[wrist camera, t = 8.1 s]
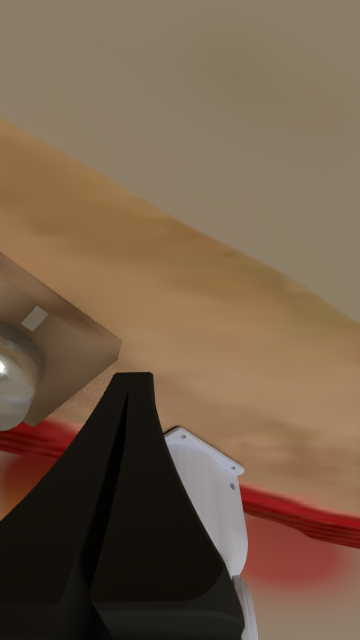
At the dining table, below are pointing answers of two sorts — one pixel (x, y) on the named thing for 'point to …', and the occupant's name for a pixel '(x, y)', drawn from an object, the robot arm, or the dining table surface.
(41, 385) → the walnut base
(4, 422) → the lever handle
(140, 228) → the dining table surface
